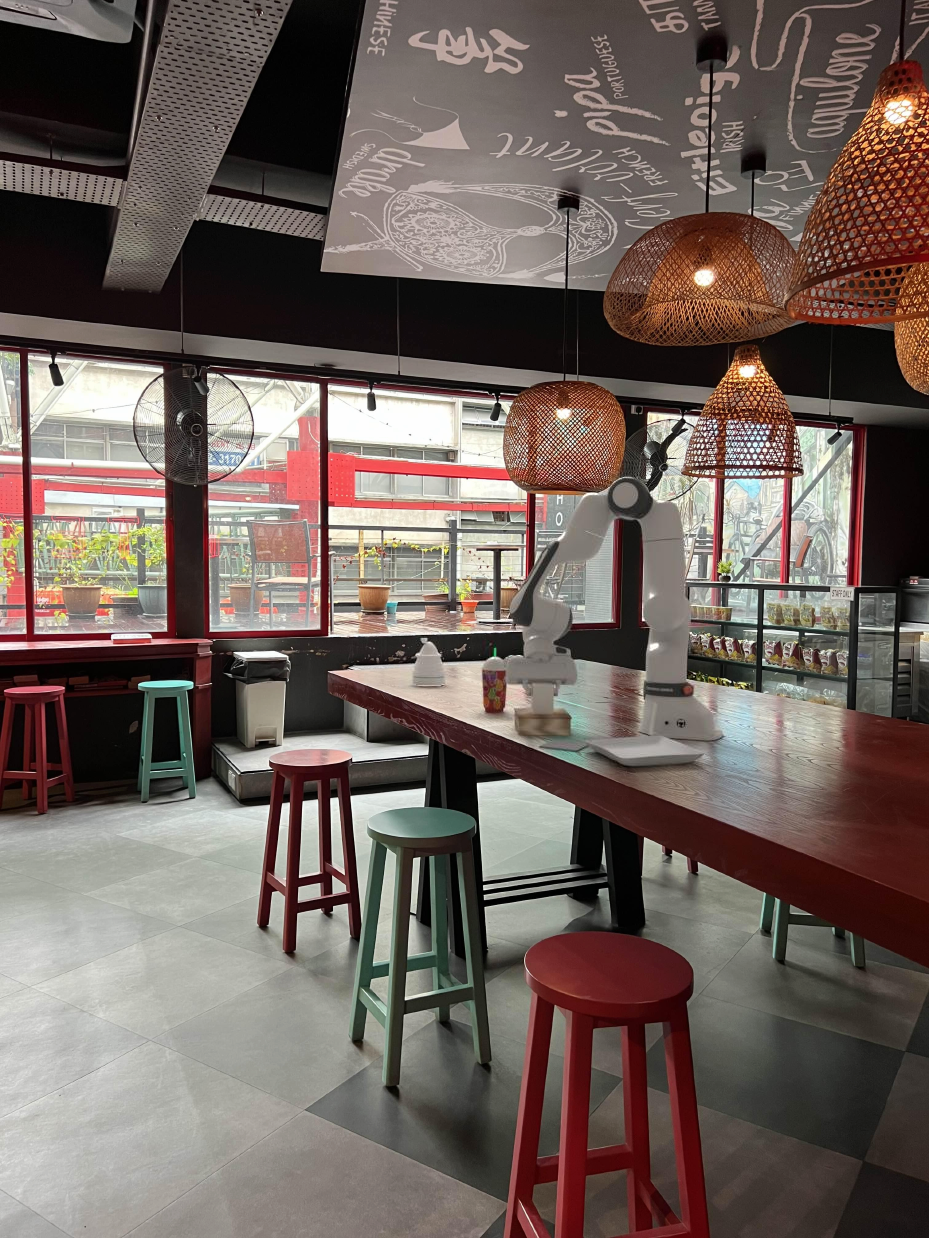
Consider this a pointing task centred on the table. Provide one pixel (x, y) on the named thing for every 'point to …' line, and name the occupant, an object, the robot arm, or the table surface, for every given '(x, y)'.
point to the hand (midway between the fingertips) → (542, 694)
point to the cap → (542, 698)
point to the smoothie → (494, 684)
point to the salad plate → (645, 750)
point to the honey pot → (428, 666)
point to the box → (542, 722)
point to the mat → (564, 745)
